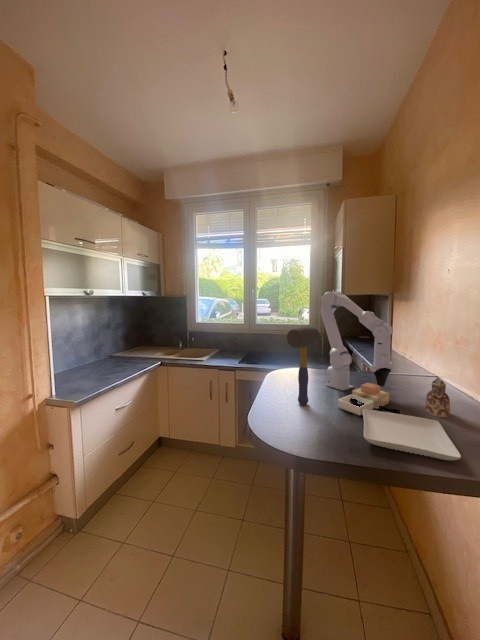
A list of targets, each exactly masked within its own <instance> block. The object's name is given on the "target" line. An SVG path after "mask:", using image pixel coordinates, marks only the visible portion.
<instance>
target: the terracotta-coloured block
mask: <svg viewBox="0 0 480 640" xmlns="http://www.w3.org/2000/svg"><path fill="white" fill-rule="evenodd" d="M360 387H361V391H362V392H365V393H368V394H372V395H375V394H377V393H379V392H380V390H381V386H379V385H377V384H375V383H370V382H365V383H363V384H361V385H360Z"/></svg>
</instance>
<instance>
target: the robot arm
mask: <svg viewBox="0 0 480 640" xmlns="http://www.w3.org/2000/svg"><path fill="white" fill-rule="evenodd" d="M320 302H321V306H320V315H321V319H322V321H323V322H322V323H323V326H324V328H325V332H326V335H327V336H326V337H327V339H328V342H329V345H330V351H329V363H330V365H329V366H328V367H327V370H326V383H324V384H325V386H327V387H330V388H333V389H337V390H340V391H346V390H349V389H352V388H353V387H354V385H350V365H351V364H352V362H353V357H352V356H351V354H350V353H349V351H348V349H347V348H346V347H345V346H344V344H343V340H342V337H341V333H340V330H339V327H338V324H337V321H336V318H335V314H334V313H335V311H336V310H337V309H338V308H339V307H344V308H345V309H346V310H348V311H349V312H350V313H352V314H353V315H355V316H356V317H357V318H358V321H359V323H361V324H362V325H363V326H364V327H365V328H366V329H368V330H369V331H370V332H371V333H372V335H373V337H374V343H373V345H374V348H373V351H374V352H373V363H372V364H371V365H370V366H369V371H370V372H372V373H373V374H374V377H375V380H376V385H379V386H380V387H385V386H386V383H387V378H388V376H389V374H390V373H391V371H392V369H391V368H393V367H394V366H393V364H394V363H393V361H391V335H393V332H394V329H393V327H392V326H391V324H390V323H388V322H385V320H384V319H380V318H379V317H377V315H375V313H374V312H373V311H370V310H366V311H364V309H362V308H361V307H360V306H359V305H357V304H356V303H355V302H354V301H353V300H352V299H350V297H348V296H347V295H345V294H344V293H342V292H340V291H326V292H324V294H323V295H322V297H321V298H320Z"/></svg>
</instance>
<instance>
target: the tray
mask: <svg viewBox="0 0 480 640" xmlns="http://www.w3.org/2000/svg"><path fill="white" fill-rule="evenodd" d="M351 398H352V399H356V400H358V401H360V402H362V403H364V405H362V406H360V407H359V406H356V405H353V404H351V403H350V402H349V401H350V399H351ZM336 405H337V408H338V409H340V410H344V411H346V412H349V413H351V414H354V415H357V416H360V417H361V416H363V409H368V410H374V408H373V407H374V401H371V400H368V399H365V398H362V397H358V396H355V395H352V393H350V394H349V395H346V396H343V397H340V398H338V399H337V404H336Z"/></svg>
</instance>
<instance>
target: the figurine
mask: <svg viewBox="0 0 480 640" xmlns="http://www.w3.org/2000/svg"><path fill="white" fill-rule="evenodd" d="M446 386H447V384H446V383H445V382H444V381H443V380H441V379H440V377H435V379H434V380H432V382H431V389H430V390H429V391H428V392H427V393H426V397H425V402H424V406H423V407H424V409H423V410H424V412H426V413H427V414H430V415H431V416H433V417H438V418H449V417H450V415H451V402H450V396H449V395H448V394H447V393H446Z"/></svg>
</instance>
